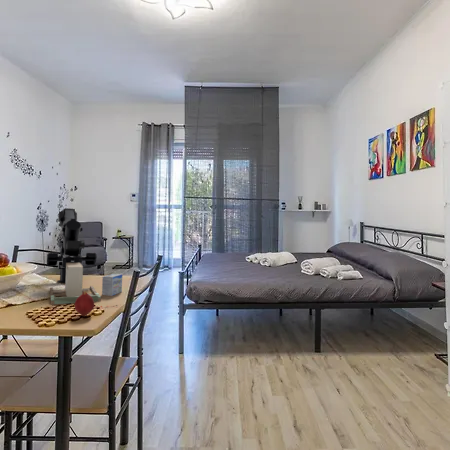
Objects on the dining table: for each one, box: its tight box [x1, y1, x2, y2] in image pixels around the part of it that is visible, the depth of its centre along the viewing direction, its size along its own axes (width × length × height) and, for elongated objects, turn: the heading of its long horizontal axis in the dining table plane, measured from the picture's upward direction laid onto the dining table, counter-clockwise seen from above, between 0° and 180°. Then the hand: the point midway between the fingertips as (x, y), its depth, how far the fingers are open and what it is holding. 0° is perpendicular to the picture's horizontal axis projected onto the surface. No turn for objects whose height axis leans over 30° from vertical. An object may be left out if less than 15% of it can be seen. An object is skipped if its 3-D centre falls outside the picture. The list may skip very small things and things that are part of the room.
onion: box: [74, 291, 95, 317], centre depth 112 cm, size 6×6×8 cm
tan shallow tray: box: [49, 285, 102, 305], centre depth 132 cm, size 23×16×4 cm
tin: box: [64, 263, 84, 297], centre depth 135 cm, size 12×5×11 cm, turn 28°
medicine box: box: [101, 273, 123, 297], centre depth 139 cm, size 8×4×9 cm, turn 168°
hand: (72, 275), depth 140 cm, fingers closed
